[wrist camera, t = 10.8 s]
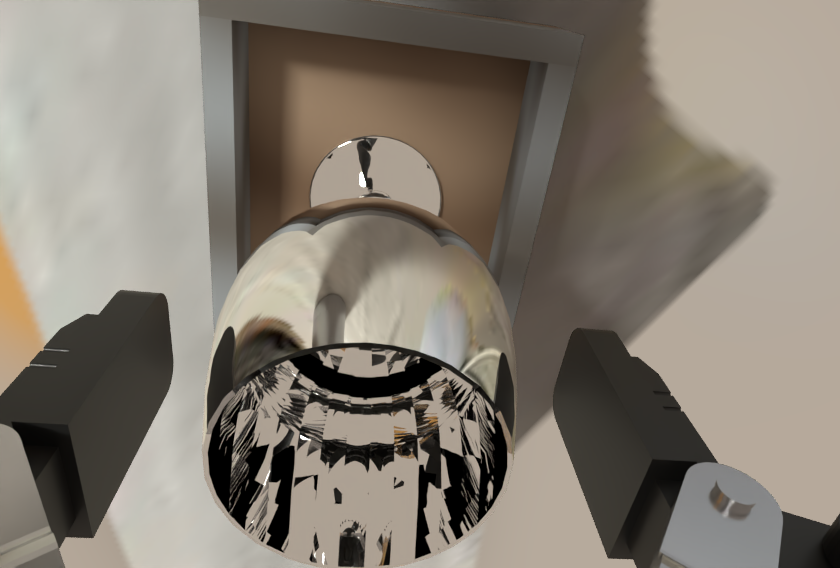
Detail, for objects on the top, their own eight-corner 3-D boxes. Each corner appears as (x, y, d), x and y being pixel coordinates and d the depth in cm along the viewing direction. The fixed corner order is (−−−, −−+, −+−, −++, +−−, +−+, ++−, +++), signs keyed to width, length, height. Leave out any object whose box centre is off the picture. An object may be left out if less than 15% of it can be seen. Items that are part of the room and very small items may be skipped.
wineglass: (257, 222, 19) (99, 514, 9) (347, 75, 17) (282, 222, 7) (398, 303, 21) (409, 629, 10) (495, 178, 19) (630, 425, 8)
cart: (245, -21, 19) (197, -20, 14) (537, 21, 20) (584, 35, 15) (249, 293, 24) (215, 369, 20) (476, 312, 26) (497, 389, 21)
